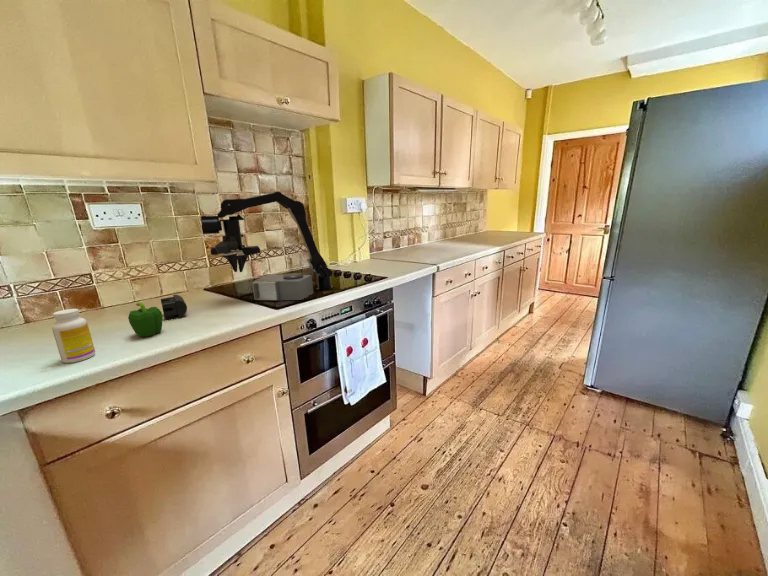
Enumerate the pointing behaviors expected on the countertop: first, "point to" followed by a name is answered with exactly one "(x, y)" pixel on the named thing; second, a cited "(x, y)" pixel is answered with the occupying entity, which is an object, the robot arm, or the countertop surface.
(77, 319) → the supplement bottle
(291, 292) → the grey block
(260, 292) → the side door
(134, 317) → the bell pepper
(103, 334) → the countertop surface
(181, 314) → the end cap
